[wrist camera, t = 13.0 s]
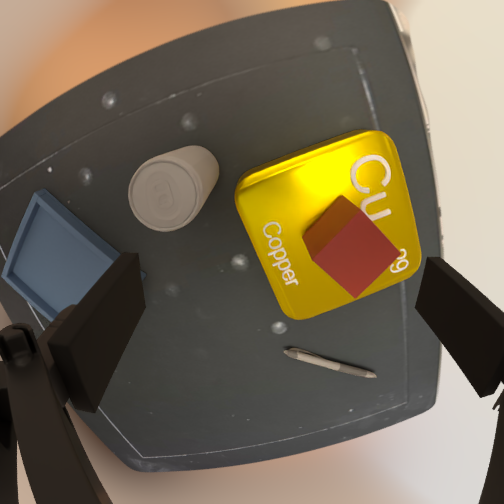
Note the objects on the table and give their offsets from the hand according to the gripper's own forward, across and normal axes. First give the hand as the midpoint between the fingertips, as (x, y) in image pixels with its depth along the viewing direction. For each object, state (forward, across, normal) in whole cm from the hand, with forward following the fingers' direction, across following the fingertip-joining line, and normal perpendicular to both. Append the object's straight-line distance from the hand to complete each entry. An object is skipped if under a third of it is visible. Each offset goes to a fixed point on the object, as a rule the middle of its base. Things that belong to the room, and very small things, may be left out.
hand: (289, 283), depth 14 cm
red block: (+14, +6, -2) cm, 15 cm away
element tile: (+19, +6, -2) cm, 20 cm away
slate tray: (+18, -23, -9) cm, 31 cm away
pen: (+19, +9, -20) cm, 29 cm away
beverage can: (+19, -7, +2) cm, 20 cm away
